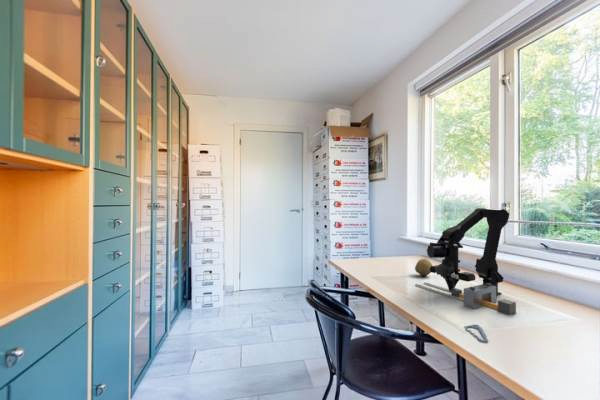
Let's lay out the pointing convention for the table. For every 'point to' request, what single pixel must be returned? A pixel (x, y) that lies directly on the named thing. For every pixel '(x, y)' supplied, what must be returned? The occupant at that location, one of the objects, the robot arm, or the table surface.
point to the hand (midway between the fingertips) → (451, 291)
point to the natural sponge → (423, 267)
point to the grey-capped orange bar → (502, 305)
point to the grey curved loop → (480, 332)
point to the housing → (470, 294)
